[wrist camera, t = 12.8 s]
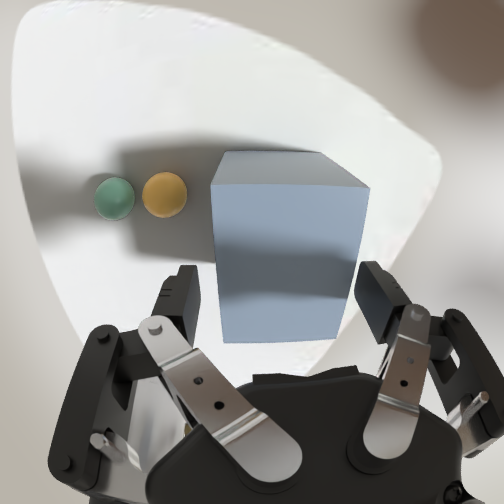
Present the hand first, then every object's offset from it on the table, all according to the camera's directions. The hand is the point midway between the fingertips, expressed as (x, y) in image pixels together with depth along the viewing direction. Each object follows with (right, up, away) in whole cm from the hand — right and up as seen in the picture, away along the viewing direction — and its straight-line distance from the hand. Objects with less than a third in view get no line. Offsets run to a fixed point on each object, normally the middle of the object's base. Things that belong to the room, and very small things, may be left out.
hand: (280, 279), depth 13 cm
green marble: (-11, +5, +4) cm, 12 cm away
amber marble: (-7, +5, +4) cm, 9 cm away
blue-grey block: (0, +4, +6) cm, 8 cm away
